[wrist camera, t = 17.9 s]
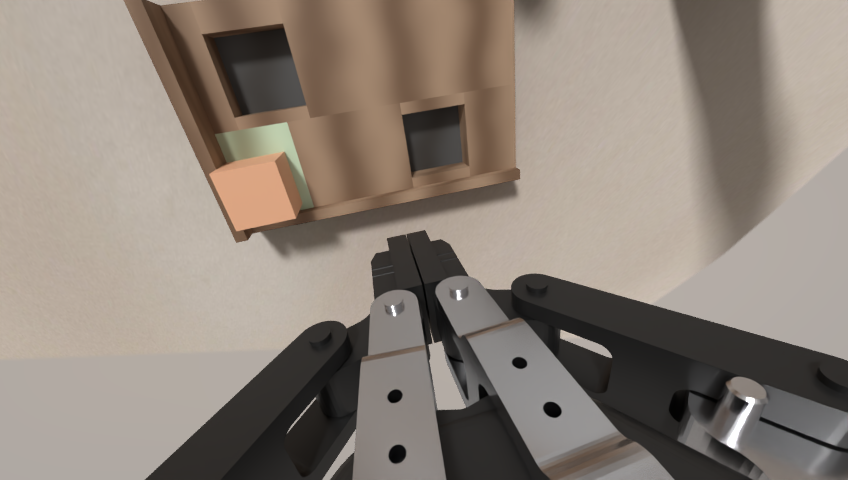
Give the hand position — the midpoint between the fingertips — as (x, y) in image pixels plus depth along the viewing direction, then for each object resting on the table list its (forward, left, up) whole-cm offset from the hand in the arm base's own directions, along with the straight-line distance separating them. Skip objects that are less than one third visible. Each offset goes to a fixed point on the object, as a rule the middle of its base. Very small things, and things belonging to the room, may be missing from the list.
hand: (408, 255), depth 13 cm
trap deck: (0, -4, -23) cm, 23 cm away
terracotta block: (+11, +1, -20) cm, 23 cm away
